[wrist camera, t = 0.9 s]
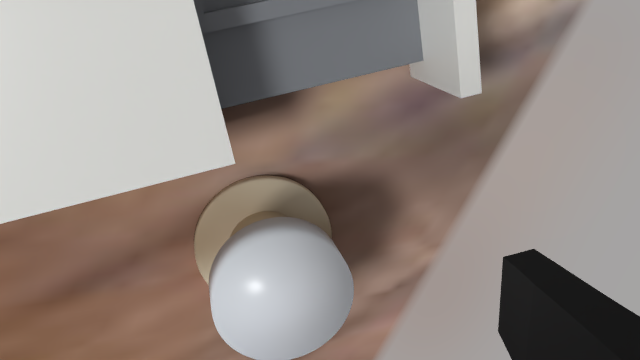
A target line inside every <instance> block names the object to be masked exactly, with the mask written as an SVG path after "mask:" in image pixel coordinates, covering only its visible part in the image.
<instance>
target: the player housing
mask: <svg viewBox="0 0 640 360" xmlns="http://www.w3.org/2000/svg"><path fill="white" fill-rule="evenodd" d="M232 164H235V161H234V157H233V153H232V149H231V145H230V141H229V137H228V133H227V130H226V126H225V122H224V118H223V114H222V110H221V106H220V102H219V98H218V94H217V91H216V87H215V83H214V79H213V75H212V71H211V67H210V63H209V59H208V55H207V52H206V48H205V44H204V40H203V36H202V32H201V28H200V24H199V20H198V16H197V13H196V9H195V5H194V1H193V0H0V224H1V223H5V222H9V221H13V220H17V219H21V218H25V217H29V216H33V215H36V214H40V213H44V212H48V211H52V210H56V209H60V208H64V207H68V206H72V205H76V204H79V203H83V202H87V201H91V200H95V199H99V198H103V197H107V196H111V195H115V194H119V193H122V192H126V191H130V190H134V189H138V188H142V187H146V186H150V185H154V184H158V183H162V182H165V181H169V180H173V179H177V178H181V177H185V176H189V175H193V174H197V173H201V172H205V171H208V170H212V169H216V168H220V167H224V166H228V165H232Z"/></svg>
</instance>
